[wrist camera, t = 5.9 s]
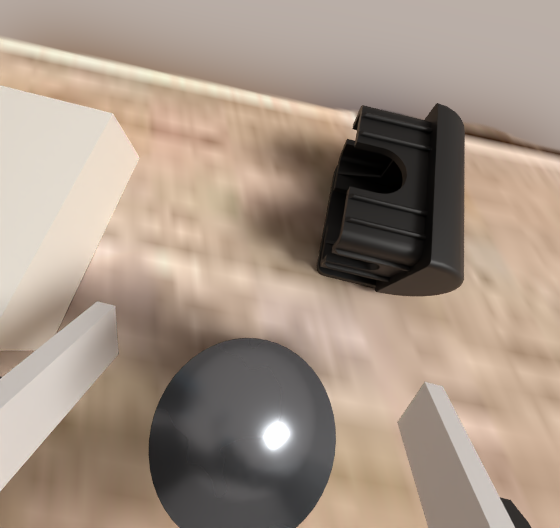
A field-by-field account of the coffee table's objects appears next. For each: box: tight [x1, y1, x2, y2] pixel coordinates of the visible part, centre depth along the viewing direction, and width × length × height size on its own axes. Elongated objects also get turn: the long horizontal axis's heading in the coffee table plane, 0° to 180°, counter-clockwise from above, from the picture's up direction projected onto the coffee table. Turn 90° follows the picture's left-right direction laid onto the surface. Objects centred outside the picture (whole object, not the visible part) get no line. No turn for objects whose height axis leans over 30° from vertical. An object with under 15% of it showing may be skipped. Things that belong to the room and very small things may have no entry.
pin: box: [149, 338, 336, 528], centre depth 11 cm, size 4×4×11 cm
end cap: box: [317, 103, 465, 296], centre depth 17 cm, size 10×7×7 cm
